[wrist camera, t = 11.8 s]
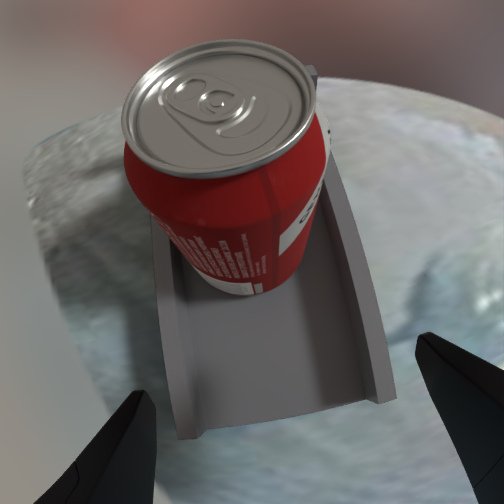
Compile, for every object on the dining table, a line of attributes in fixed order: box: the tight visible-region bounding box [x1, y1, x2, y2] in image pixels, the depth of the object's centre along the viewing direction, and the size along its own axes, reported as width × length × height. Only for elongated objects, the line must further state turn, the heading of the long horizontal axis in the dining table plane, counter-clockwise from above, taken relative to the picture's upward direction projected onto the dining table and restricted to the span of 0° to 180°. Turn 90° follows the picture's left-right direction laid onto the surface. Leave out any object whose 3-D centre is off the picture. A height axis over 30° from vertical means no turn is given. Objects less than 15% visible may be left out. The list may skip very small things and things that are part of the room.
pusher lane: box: [151, 65, 397, 440], centre depth 17 cm, size 19×11×6 cm, turn 10°
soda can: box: [121, 39, 331, 296], centre depth 14 cm, size 7×7×12 cm
